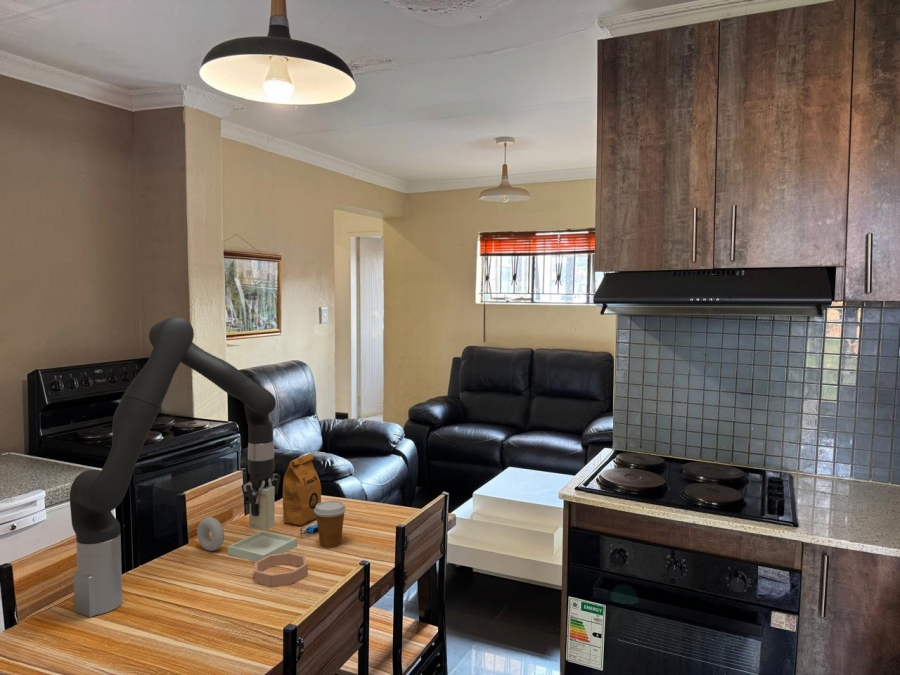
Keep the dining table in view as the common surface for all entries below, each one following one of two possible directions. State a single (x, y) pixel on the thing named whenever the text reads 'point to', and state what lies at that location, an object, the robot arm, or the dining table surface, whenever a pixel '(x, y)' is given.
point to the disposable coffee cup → (330, 522)
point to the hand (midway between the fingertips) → (262, 512)
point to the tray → (262, 545)
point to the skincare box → (264, 510)
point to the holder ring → (280, 578)
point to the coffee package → (300, 491)
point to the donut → (204, 534)
